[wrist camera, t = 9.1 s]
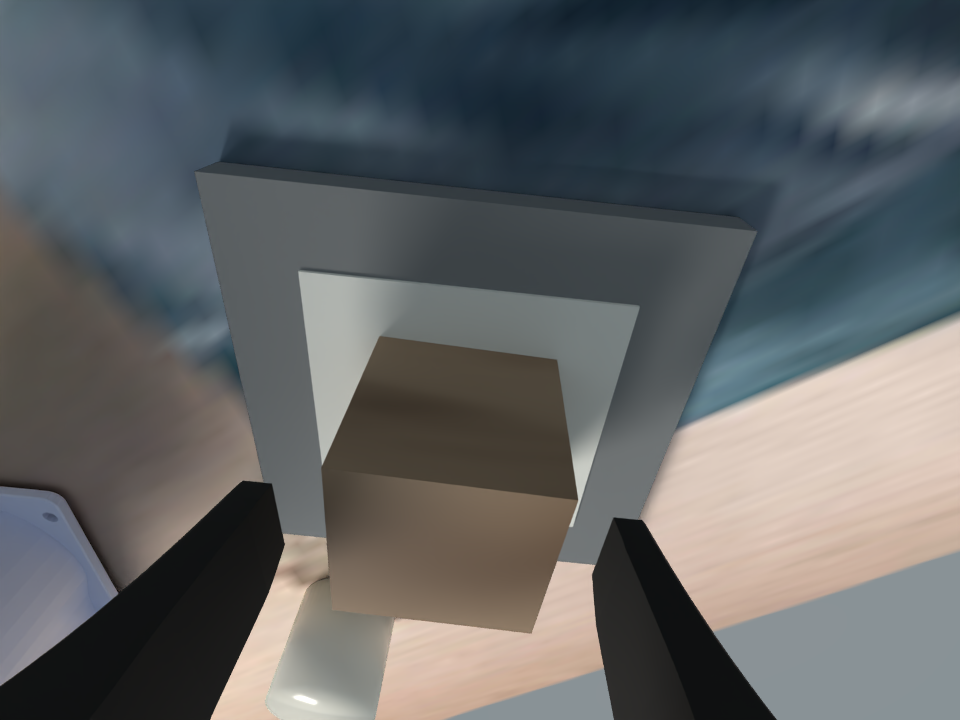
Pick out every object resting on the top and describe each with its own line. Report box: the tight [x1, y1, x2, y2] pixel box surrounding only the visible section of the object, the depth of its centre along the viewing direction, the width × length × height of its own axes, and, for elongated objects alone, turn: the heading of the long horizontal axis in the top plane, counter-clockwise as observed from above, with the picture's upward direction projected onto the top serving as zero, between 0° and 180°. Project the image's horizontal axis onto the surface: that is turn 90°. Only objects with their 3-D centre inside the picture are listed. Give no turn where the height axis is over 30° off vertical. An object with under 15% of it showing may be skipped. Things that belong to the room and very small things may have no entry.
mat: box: [194, 162, 757, 565], centre depth 14 cm, size 12×12×1 cm
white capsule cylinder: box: [265, 578, 395, 720], centre depth 19 cm, size 4×4×4 cm
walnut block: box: [321, 336, 578, 633], centre depth 12 cm, size 4×4×4 cm
